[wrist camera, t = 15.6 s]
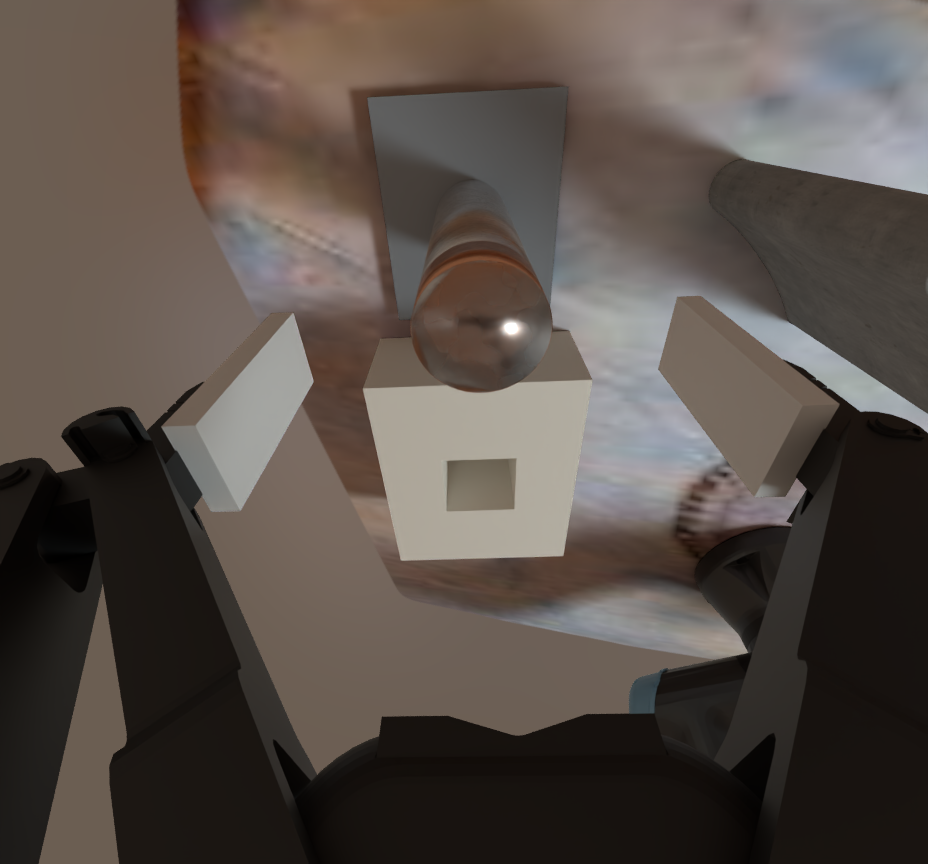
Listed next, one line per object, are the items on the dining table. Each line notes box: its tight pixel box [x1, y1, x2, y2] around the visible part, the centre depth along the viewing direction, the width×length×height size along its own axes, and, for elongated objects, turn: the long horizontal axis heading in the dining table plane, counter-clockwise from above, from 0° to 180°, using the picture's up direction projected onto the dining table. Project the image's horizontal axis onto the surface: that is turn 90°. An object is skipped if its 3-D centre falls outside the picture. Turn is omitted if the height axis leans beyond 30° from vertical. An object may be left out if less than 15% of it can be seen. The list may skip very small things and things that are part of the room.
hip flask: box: [709, 160, 928, 413], centre depth 24 cm, size 16×4×20 cm, turn 48°
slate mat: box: [367, 87, 568, 320], centre depth 30 cm, size 14×12×1 cm
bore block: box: [363, 331, 592, 561], centre depth 39 cm, size 20×16×8 cm
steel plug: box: [410, 180, 552, 393], centre depth 22 cm, size 5×5×18 cm
